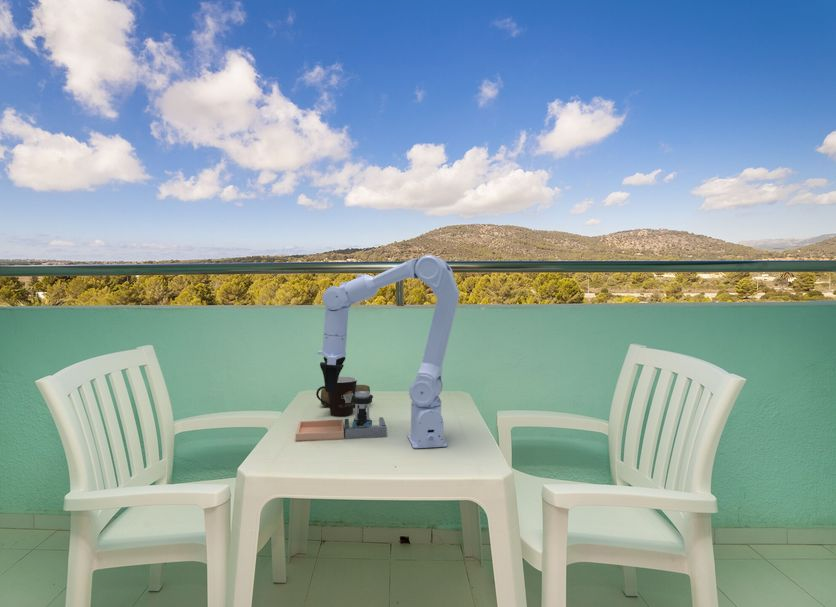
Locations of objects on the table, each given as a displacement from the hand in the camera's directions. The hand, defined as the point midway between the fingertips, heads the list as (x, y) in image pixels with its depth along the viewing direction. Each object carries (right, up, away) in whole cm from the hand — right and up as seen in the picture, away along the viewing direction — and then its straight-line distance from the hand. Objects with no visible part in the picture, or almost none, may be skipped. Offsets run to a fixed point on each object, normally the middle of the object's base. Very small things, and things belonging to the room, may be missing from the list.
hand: (331, 387), depth 113 cm
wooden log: (0, -11, +26) cm, 28 cm away
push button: (+8, -11, +1) cm, 14 cm away
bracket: (+8, -11, +1) cm, 14 cm away
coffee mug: (-2, -11, +16) cm, 20 cm away
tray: (-2, -11, -1) cm, 11 cm away
